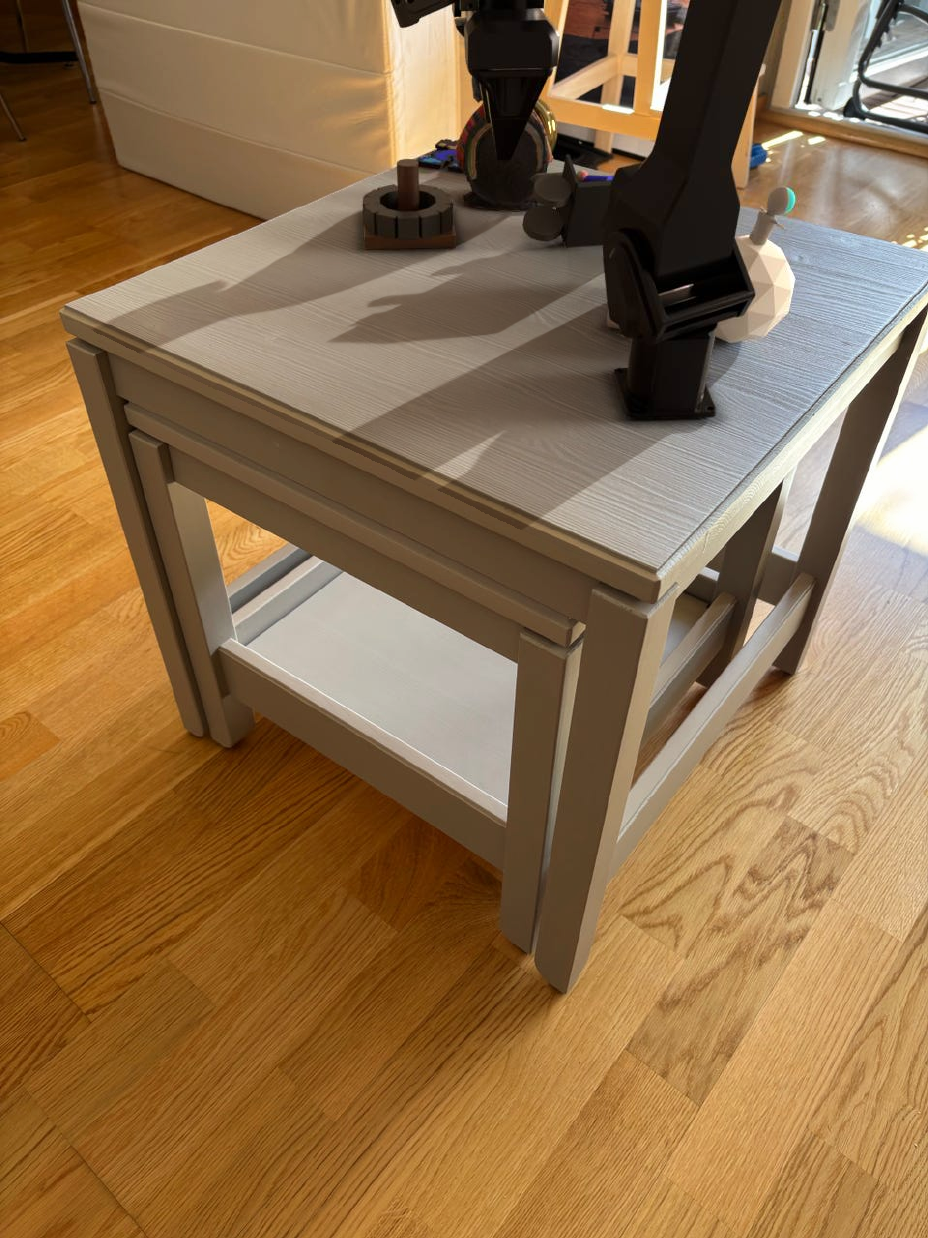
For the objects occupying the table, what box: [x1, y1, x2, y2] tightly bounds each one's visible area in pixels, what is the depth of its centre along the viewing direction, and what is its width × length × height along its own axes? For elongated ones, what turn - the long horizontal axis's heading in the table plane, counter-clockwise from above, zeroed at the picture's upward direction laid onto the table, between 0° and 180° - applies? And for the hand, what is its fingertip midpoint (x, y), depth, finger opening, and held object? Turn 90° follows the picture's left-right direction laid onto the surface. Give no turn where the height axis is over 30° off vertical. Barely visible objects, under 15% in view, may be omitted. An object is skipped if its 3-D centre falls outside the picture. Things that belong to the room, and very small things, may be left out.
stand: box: [363, 158, 457, 250], centre depth 90 cm, size 8×8×6 cm
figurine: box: [456, 76, 554, 212], centre depth 93 cm, size 10×7×15 cm
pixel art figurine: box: [415, 138, 465, 174], centre depth 108 cm, size 6×1×12 cm
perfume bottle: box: [689, 185, 796, 344], centre depth 74 cm, size 8×8×12 cm
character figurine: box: [521, 154, 614, 249], centre depth 89 cm, size 8×7×15 cm
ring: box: [361, 183, 454, 240], centre depth 90 cm, size 8×8×2 cm
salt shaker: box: [533, 97, 558, 153], centre depth 103 cm, size 7×7×10 cm
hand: (498, 140), depth 77 cm, fingers open, 9 cm apart
